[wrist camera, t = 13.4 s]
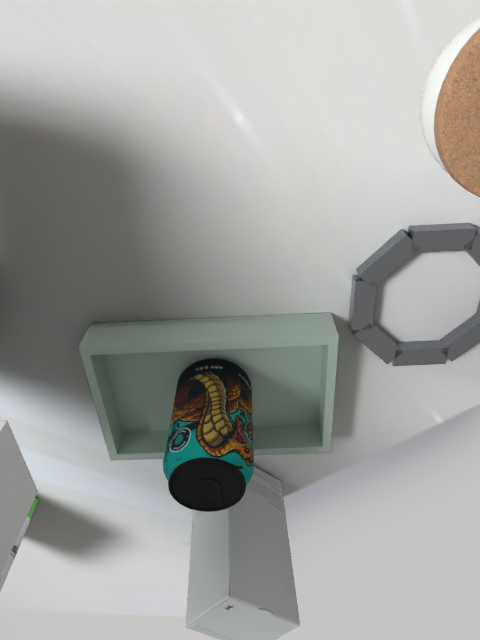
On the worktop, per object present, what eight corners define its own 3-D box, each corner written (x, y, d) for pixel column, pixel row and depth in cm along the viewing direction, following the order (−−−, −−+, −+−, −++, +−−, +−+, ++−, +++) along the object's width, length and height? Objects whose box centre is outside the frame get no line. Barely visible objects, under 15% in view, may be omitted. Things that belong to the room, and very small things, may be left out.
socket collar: (345, 360, 44) (348, 367, 43) (356, 228, 37) (360, 234, 36) (485, 354, 43) (491, 361, 42) (522, 220, 36) (530, 225, 35)
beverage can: (250, 352, 42) (253, 453, 32) (252, 409, 46) (256, 516, 36) (173, 355, 42) (152, 456, 32) (182, 411, 46) (165, 518, 36)
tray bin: (119, 432, 49) (110, 460, 45) (90, 323, 42) (78, 347, 38) (324, 424, 48) (330, 452, 45) (331, 312, 41) (338, 336, 38)
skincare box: (193, 478, 53) (178, 627, 39) (231, 447, 50) (228, 596, 37) (248, 508, 55) (251, 657, 42) (286, 480, 53) (302, 630, 40)
